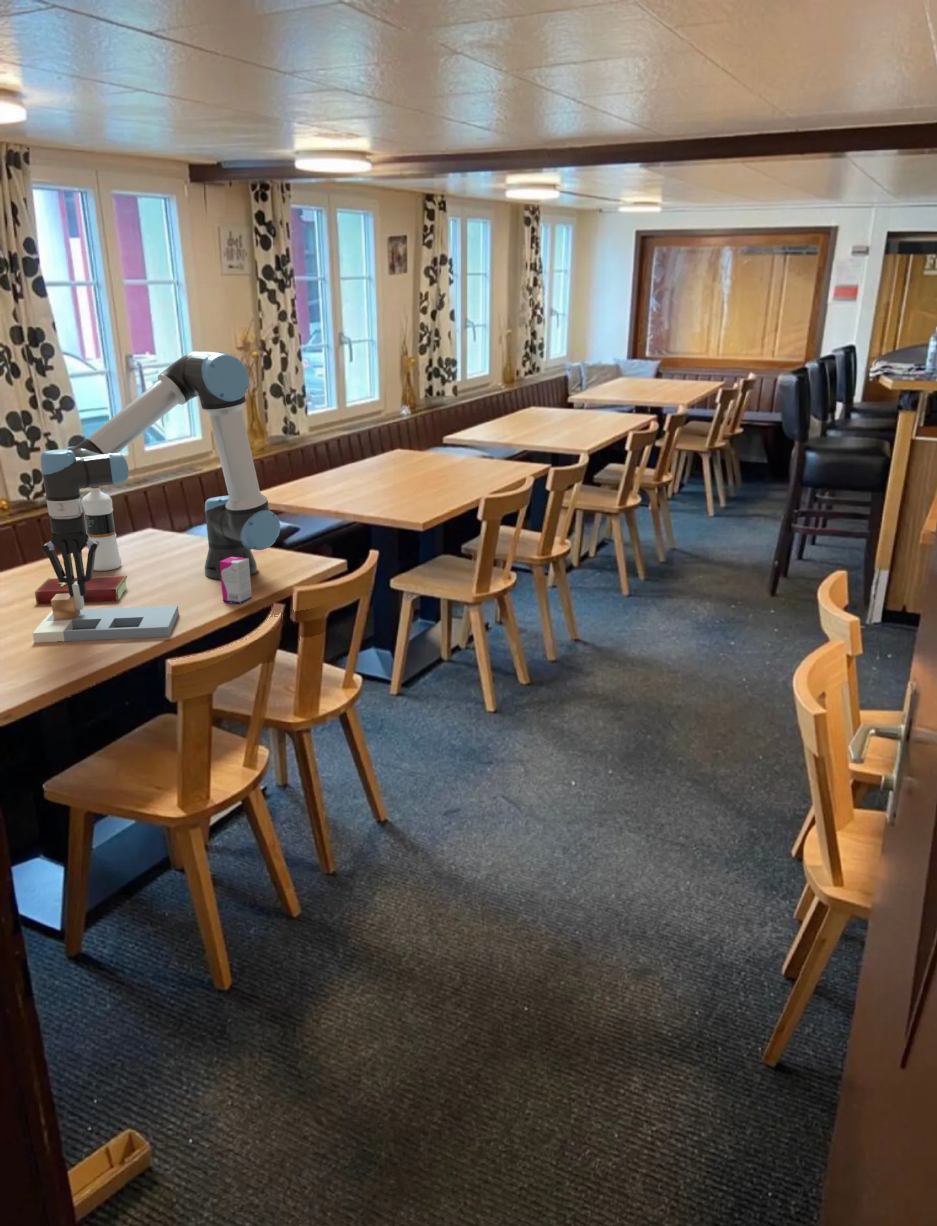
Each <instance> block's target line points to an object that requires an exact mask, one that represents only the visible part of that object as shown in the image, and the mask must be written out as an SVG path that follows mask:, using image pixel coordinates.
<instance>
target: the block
mask: <svg viewBox="0 0 937 1226" xmlns="http://www.w3.org/2000/svg"><path fill="white" fill-rule="evenodd" d="M50 605H51V607H52V608H51V611H52V610H53V617H54V619H75V618H76V617H77V616H78V614H79V613H80V610H76V607H75V600H74V596H70V595H69V593H66V594H56V595H55V596H54V597H53V598H52V600H51V604H50Z"/></svg>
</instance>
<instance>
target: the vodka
mask: <svg viewBox="0 0 937 1226" xmlns="http://www.w3.org/2000/svg"><path fill="white" fill-rule="evenodd" d="M89 490H90V492H88V493H87V494H86V495H85V496H83V498H82V499H81V503H82V510H83V517H84V524H85V531H86V534H87V535H88V537H89V539H90V540H92V541H94V542H95V541H97V542H99V546H98V547H97V549H96V552H95V560H94V568H93V571H95V572H107V571H114V570H116V569H119V568H120V567H121V566H122V563H123V562H122V557H121V556H120V552H119V547H118V542H117V534H116V529H115V521H114V513H113V511H114V508H113V499H112V497H111V496H110V495H109V494H106V493H105V492H103V491H102V490H101V486H98V487H90V488H89Z"/></svg>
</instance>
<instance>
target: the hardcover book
mask: <svg viewBox="0 0 937 1226" xmlns="http://www.w3.org/2000/svg"><path fill="white" fill-rule="evenodd" d="M127 578H128V576H127V575H119V576H118V575H116V576H115V575H113V576H93V577H92V578H91V579H90V581H87V582H85V584H86V591H87V593H86V595H85V596H83V599H84V603H105V602H106V603H108V602H109V601H110V602H120V598H121V597H122V596H123V594H124V593H125V591H126V590H127V582H126V581H127ZM74 579H75V580H74V582H78V580H77V577H74ZM125 589H126V590H125ZM123 592H124V593H123ZM66 593H69V589H68V584H67V583H64V582H59V580H58V578H57V577H53V578H51V577H50V578H47V579H46V580H45V581H44V582H43V583H42V584H41V585H40V586H39V587H38V588H37V589H36V590H35V591H34V598H35V603H36V605H45V604H47V605H48V604H50V605H52V604H51V600H52V598H53V597H54V596H55V595H56V594H66Z"/></svg>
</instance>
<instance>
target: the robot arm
mask: <svg viewBox="0 0 937 1226" xmlns="http://www.w3.org/2000/svg"><path fill="white" fill-rule="evenodd" d="M249 386H250V377H249V372H248V370H247V368H246V366H245V364H244V363H243V362H242V360H240V359H239V358H237V357H236V356H234V355H232V354H228V353H226V352H221V351H220V352H217V351H204V350H195V351H191V352H189V353H187V354H185V355H182V356H181V357H180V358H179V359H177V360H176V361H174V362H173V363H172V364H171V365H169V366H168V367H167V368H165V370H163V371H162V372H160V373H159V374H158V375H157V381H155V383H154V384H152V385H151V386H150V387H149V388H146V390H144V391H143V392H142V393H141V394H140V395H138V396H137V397H136V398H135V399H134V400H132V401H131V402H130V403H129V404H128V405H127V406H125V407H124V408H122V409H121V410H120V411H118V412H117V413H116V414H114V415H113V417H111V418H110V419H109V420H108V421H106V422H105V423H103V425H101V426H100V427H99V428H98V429H97V430H95V431H94V432H93V433H92V434H90V435H89V436H87V437H86V438H85V439H84V440H83V441H81V442H80V443H79V444H77V445H76V446H75V445H74V446H73V445H71V446H68V447H65V448H64V449H52V450H46V451H44V452H42V453H41V455H40V468H41V469H40V471H41V475H42V479H43V485H44V486H43V487H44V491H45V498H46V506H47V511H48V516H50V518H49V524H50V531H51V537H50V541H48V542H45V543H44V544H43V545H42V546H41V549H42V551H43V552H44V553H45V554H46V555H47V557H48V559H49V561H50V563H51V565H52V568H53V570H54V573H55V574H56V575H55V576H56V578H58V580H59V582H64V583H67V584H68V589H69V595H70V596H74V600H75V607H76V610H82V609H84V608H85V602H84V599H83V596H85V595H86V593H87V591H86V584H85V582H87V581H90V579H91V578H92V577H94V576H93V575H94V574H93V573H94V570H93V568H94V560H95V552H96V549H97V547H98V546H99V542H97V541H95V542H94V541H92V540H90V539H89V537H88V535H87V533H86V526H85V518H84V515H83V514H82V513H84V511H83V505H82V499H81V498H82V497H81V489H90V487H98V486H100V487H104V486H105V487H106V486H115V485H118V484H123V483H125V482H126V481H127V480H128V479H129V474H130V472H129V464H128V462H127V460H126V457H125V456H124V455H123V454H122V453H120V452H121V451H122V450H123V449H124V448H126V447H127V446H129V445H130V444H131V443H132V442H133V441H134V440H136V439H137V438H138V437H139V436H140V435H142V434H143V433H144V432H145V431H146V430H148V429H149V428H150V427H151V426H153V425H154V424H155V423H157V422H158V421H159V420H160V419H161V418H162V417H164V416H165V415H166V414H167V413H169V412H170V411H171V410H172V409H173V408H175V407H176V406H178V405H185V404H186V403H187V402H188V401H190V400H192V399H194V398H196V397H198V398H199V402H200V406H201V410H203V411H204V412H206V413H208V415H209V419H210V422H211V427H212V431H213V436H214V439H215V440H214V441H215V443H216V447H217V451H218V452H217V453H218V457H219V461H220V465H221V468H222V472H223V473H222V474H223V477H224V482H225V486H226V490H227V493H228V495H222V496H215V497H209V498H208V499H206V501H205V502H204V513H205V522H206V532H207V542H208V551H207V555H206V560H205V563H204V575H205V577H207V578H209V579H210V578H211V579H215V580H221V571H220V561H222V560H225V559H227V558H229V557H240V558H249V568H250V577H251V576H253V575H255V574H257V572H258V565H257V562H256V559H255V556H254V554H253V552H252V550H254V551H264V550H266V549H269V548H270V547H271V546H273V545H274V543H276V540H277V538H279V535H280V532H281V521H280V520H279V517H278V516H277V514H275V513H274V511H272V510H271V509H270V505H269V499H268V497H267V496H266V495H264V494H262V493H261V490H260V486H259V480H258V477H257V472H256V467H255V464H254V458H253V453H252V449H251V444H250V441H249V436H248V435H249V434H248V430H247V426H246V423H245V422H246V421H245V417H244V412H243V408H244V406H245V404H246V403H247V399H246V393H247V389H248V388H249ZM86 545H87V549H88V552H87V560H86V568H84V562H83V552H82V550H84V548H85V546H86ZM56 548H57V550H58V551H59V552H60V553H61V558H62V559H63V566H62V564H61V561H60V559H59V556H58V554H57V552H56V550H55V549H56ZM72 557H73V559H74V566H75V572H76V578H77V580H78V582H74V580H75V579H74V578H75V573H74V567H73V561H72ZM63 567H64V568H63Z"/></svg>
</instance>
